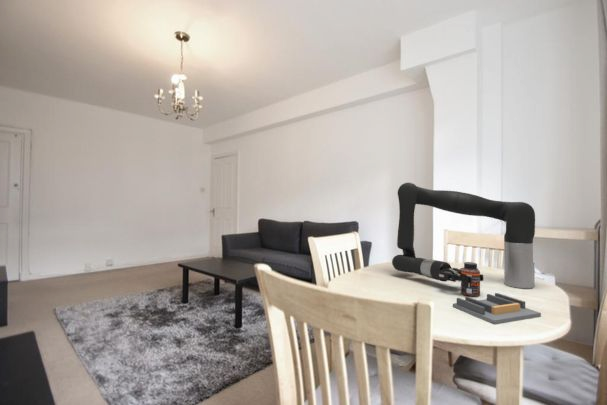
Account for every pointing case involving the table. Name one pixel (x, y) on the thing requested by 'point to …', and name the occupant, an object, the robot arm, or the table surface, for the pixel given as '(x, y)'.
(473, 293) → the supplement bottle
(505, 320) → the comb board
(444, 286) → the table surface
